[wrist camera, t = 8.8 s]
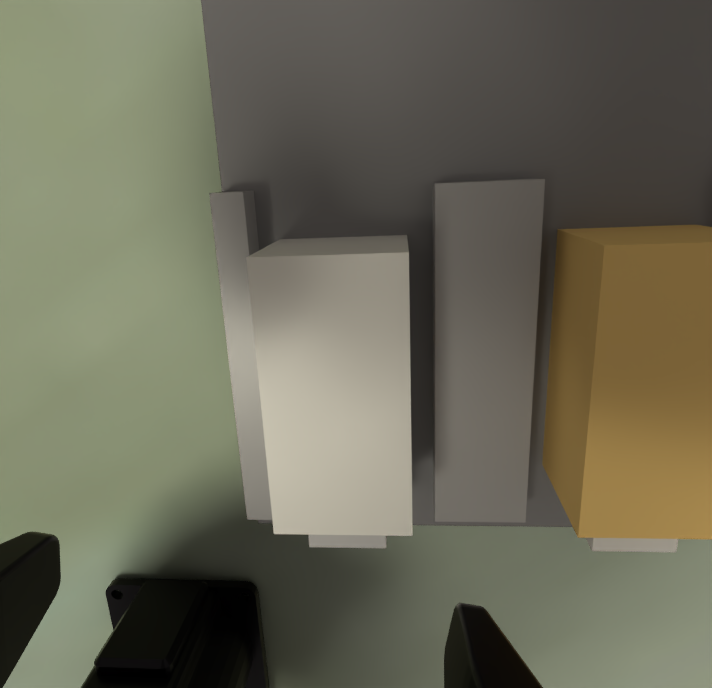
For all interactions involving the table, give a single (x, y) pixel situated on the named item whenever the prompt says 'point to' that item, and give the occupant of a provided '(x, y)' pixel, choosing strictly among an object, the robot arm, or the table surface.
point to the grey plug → (335, 386)
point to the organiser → (454, 193)
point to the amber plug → (632, 385)
